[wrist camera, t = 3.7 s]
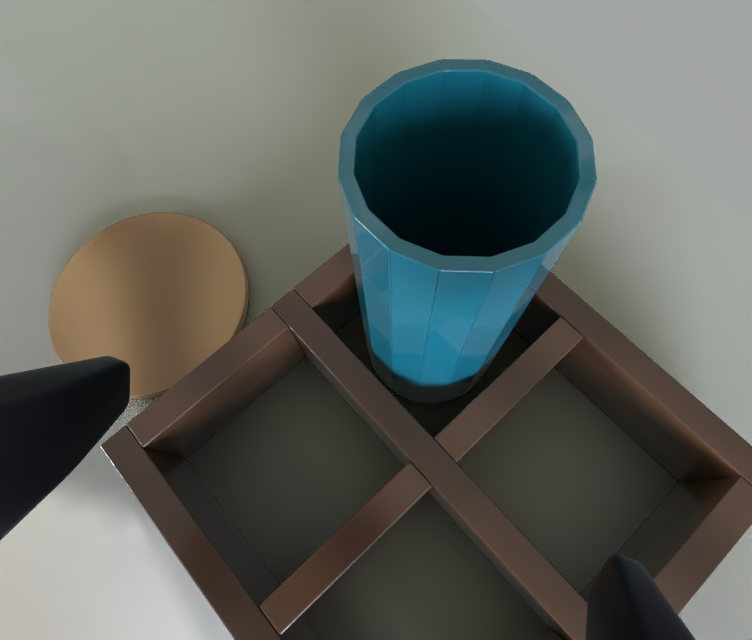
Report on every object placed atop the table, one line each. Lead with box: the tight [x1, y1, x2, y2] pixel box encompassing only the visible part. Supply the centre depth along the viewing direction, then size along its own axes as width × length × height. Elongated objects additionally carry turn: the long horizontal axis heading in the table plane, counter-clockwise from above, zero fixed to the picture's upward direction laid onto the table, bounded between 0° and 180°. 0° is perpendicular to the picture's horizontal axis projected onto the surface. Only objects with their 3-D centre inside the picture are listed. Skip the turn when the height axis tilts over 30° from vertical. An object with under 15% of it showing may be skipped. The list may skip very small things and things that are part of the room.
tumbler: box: [337, 59, 597, 403], centre depth 17 cm, size 5×5×13 cm
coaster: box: [48, 213, 249, 399], centre depth 24 cm, size 9×9×1 cm
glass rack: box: [101, 244, 752, 640], centre depth 19 cm, size 16×16×4 cm
